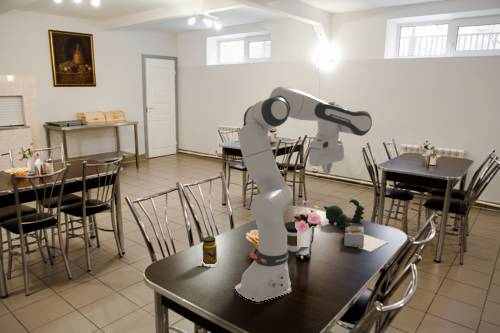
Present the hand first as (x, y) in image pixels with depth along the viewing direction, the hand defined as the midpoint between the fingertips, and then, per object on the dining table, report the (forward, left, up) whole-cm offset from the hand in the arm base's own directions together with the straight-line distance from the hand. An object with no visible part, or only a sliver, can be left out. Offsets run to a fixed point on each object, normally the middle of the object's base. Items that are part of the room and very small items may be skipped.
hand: (326, 173), depth 158 cm
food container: (+11, +18, -39) cm, 45 cm away
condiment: (-42, +31, -40) cm, 65 cm away
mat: (+29, -4, -39) cm, 49 cm away
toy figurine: (+37, +17, -39) cm, 57 cm away
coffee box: (+19, -3, -36) cm, 41 cm away
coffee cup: (-3, +16, -39) cm, 42 cm away
